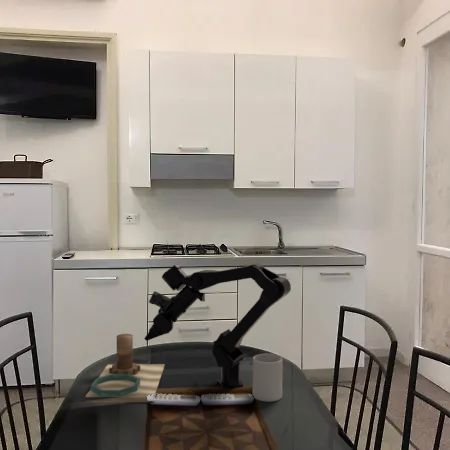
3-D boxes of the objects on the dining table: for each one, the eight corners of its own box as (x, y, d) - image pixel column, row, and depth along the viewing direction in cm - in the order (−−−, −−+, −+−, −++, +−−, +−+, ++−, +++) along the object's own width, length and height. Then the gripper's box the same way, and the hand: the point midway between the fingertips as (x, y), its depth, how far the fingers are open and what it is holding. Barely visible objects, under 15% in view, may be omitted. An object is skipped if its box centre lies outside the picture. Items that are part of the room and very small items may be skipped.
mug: (284, 401, 130) (284, 362, 129) (253, 402, 129) (254, 363, 129) (277, 385, 142) (278, 349, 141) (250, 385, 141) (250, 349, 141)
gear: (141, 375, 145) (141, 338, 145) (109, 378, 143) (109, 341, 142) (138, 365, 155) (138, 331, 154) (108, 368, 152) (108, 333, 152)
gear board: (154, 402, 129) (154, 391, 129) (85, 402, 129) (85, 391, 129) (164, 368, 156) (164, 359, 156) (107, 368, 156) (107, 359, 156)
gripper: (167, 278, 157) (134, 311, 158) (161, 288, 139) (123, 325, 139) (190, 302, 158) (158, 334, 158) (187, 314, 139) (150, 351, 139)
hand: (147, 335), depth 148 cm, fingers open, 9 cm apart
